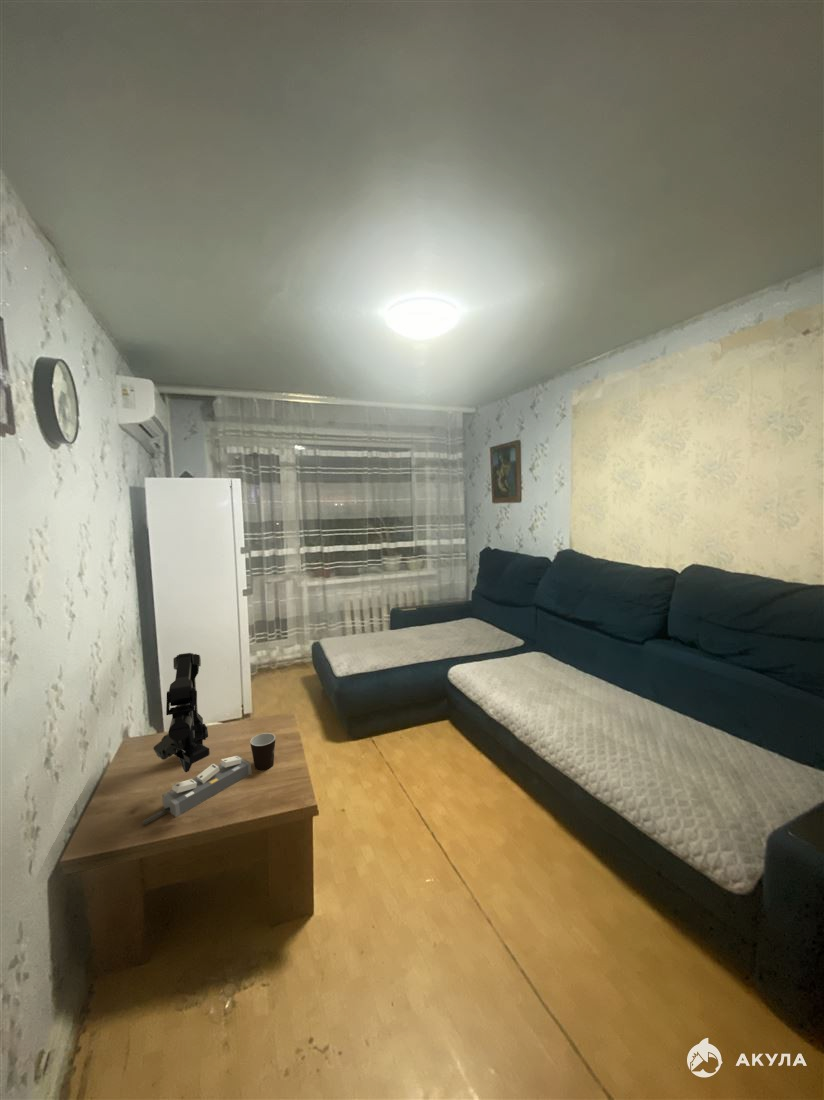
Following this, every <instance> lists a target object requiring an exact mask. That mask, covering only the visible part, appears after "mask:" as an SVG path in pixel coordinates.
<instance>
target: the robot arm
mask: <svg viewBox="0 0 824 1100" xmlns="http://www.w3.org/2000/svg"><path fill="white" fill-rule="evenodd" d="M201 665H202V663H201V655H200V654H197V653H192V652H187V653H179V654H177V655H176V656H175V657H173V670H175V671H176V672H175V679H174V680H173V682H172V683H170V685H169V689H168V691H166V707H165V709H166V711H165V714H166V716H170V715H171V717H172V718H171V721H170V724H169V728H168V734H166V735H164V736H163V737H162V738H161V741H159V742H158V743H157V744H156V745H154V746H153V748H152V749H153V751H154V752H155V754H156V756H157V757H158V758H160V759H161V760H163V761H164V760H167V759H168V758H171V757H172V756H176V757H177V758H178V760H179V762H180V765H181V768H182V769H183V771H184V773H188V772H190V770H191V768H192V766H193V764H195V763H197V762H198V761H201V760H203V759H205V758H208V757H209V756H210V753H211V752H210V748H209V747H208V746H205V745H204V741H205V740H207V738H208V737H209V731H208V727H207V726H206V723H204V718H203V717H202V716H201V714H199V712H198V691H197V690H198V689H197V686H196V684H197V683H196V678H197V676H198V674H199V669H200V667H201Z"/></svg>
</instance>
